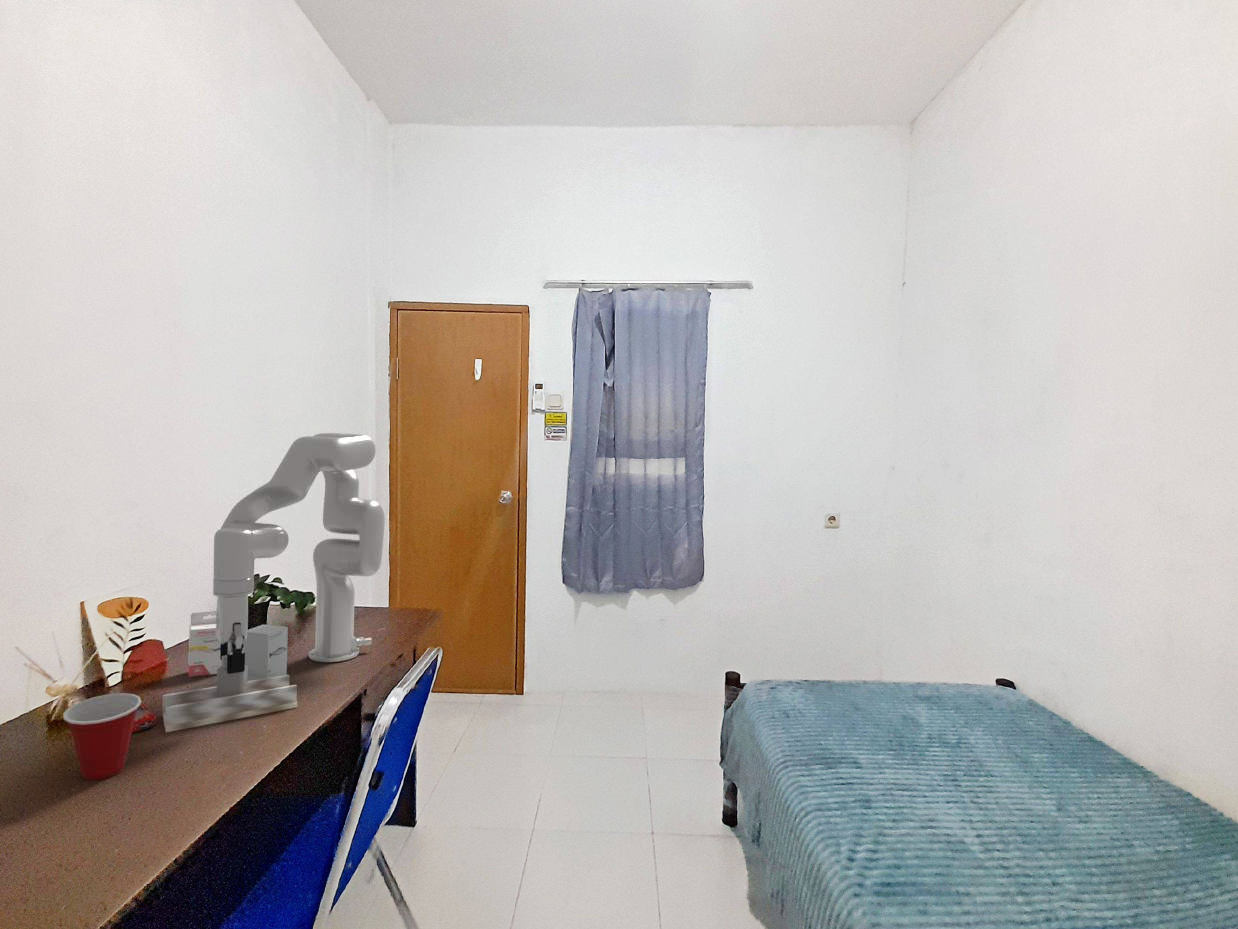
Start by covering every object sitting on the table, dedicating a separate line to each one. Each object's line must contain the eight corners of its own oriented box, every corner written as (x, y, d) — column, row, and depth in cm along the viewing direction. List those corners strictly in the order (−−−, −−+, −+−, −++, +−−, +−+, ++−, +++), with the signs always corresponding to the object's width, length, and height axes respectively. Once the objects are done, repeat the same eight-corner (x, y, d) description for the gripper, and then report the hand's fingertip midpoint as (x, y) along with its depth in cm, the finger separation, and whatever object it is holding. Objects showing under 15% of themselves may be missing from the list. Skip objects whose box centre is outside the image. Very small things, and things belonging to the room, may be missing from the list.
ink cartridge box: (188, 678, 164) (189, 617, 163) (188, 671, 168) (189, 612, 167) (229, 672, 168) (230, 613, 168) (228, 666, 173) (229, 609, 172)
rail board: (287, 692, 157) (287, 673, 157) (297, 707, 149) (297, 687, 149) (162, 715, 142) (162, 693, 142) (165, 732, 134) (166, 709, 134)
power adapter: (221, 697, 147) (222, 642, 147) (248, 697, 148) (249, 643, 147) (215, 703, 144) (216, 647, 144) (242, 703, 145) (243, 647, 144)
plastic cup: (45, 789, 112) (46, 717, 112) (89, 758, 123) (89, 693, 122) (116, 788, 113) (117, 717, 113) (153, 758, 124) (154, 692, 124)
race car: (160, 727, 137) (161, 708, 137) (130, 737, 132) (131, 717, 132) (126, 712, 144) (126, 693, 143) (96, 721, 139) (96, 702, 139)
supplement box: (266, 687, 160) (267, 634, 159) (238, 684, 161) (240, 631, 161) (287, 677, 167) (288, 626, 166) (261, 674, 168) (262, 623, 168)
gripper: (208, 580, 149) (206, 657, 150) (218, 596, 136) (217, 681, 136) (246, 577, 154) (245, 652, 155) (260, 592, 140) (259, 674, 141)
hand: (232, 665), depth 145 cm, fingers open, 9 cm apart
